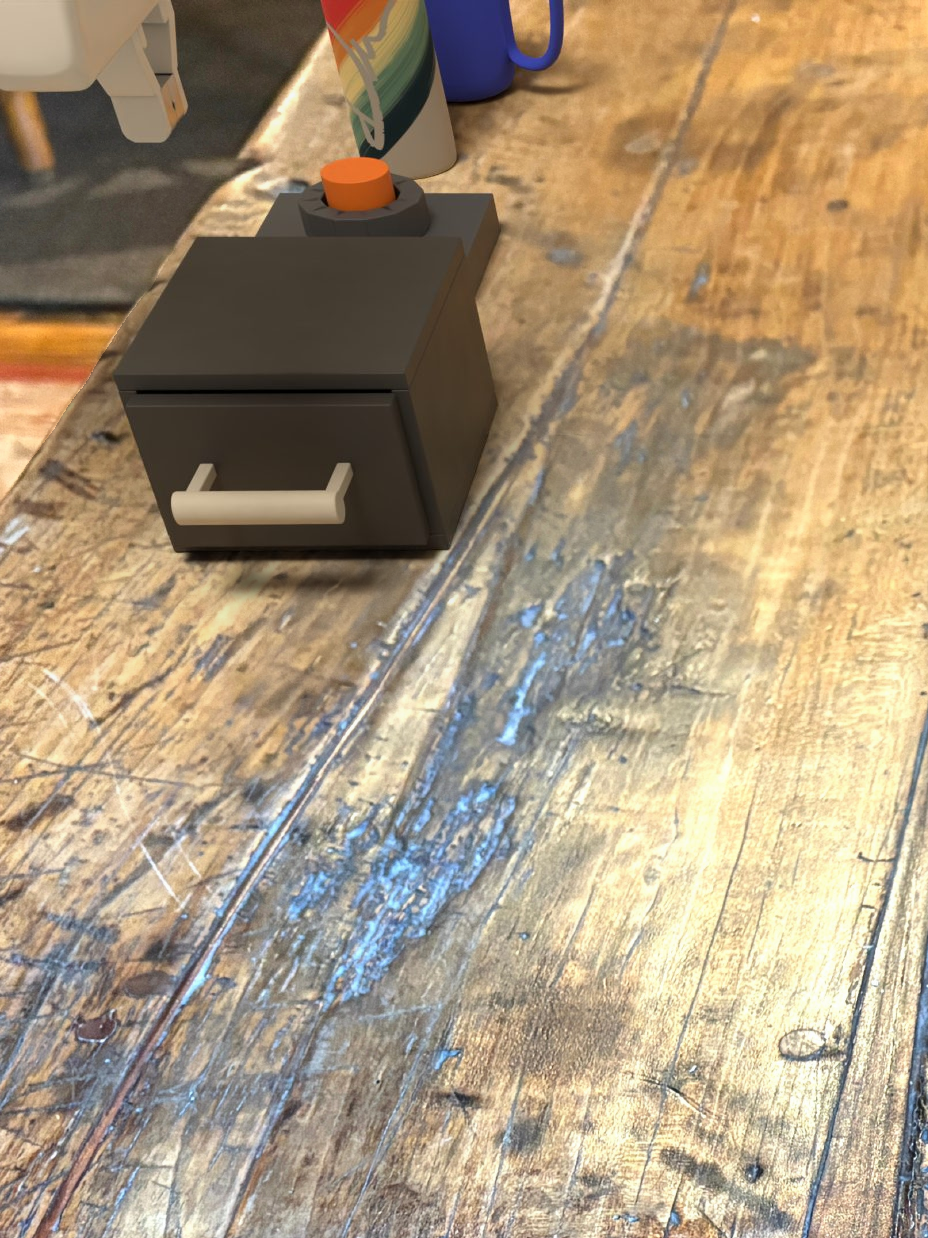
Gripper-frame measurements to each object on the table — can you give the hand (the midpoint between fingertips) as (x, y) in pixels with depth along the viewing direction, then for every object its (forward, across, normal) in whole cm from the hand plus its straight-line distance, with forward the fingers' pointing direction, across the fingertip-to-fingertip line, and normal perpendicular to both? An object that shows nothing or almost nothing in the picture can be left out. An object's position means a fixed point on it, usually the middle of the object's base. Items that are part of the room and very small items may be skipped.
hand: (158, 129), depth 89 cm
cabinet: (+19, -9, 0) cm, 21 cm away
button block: (+19, -33, -3) cm, 38 cm away
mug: (+20, -60, -2) cm, 63 cm away
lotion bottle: (+20, -48, -4) cm, 52 cm away
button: (+16, -33, -3) cm, 36 cm away
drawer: (+18, -5, 0) cm, 19 cm away
